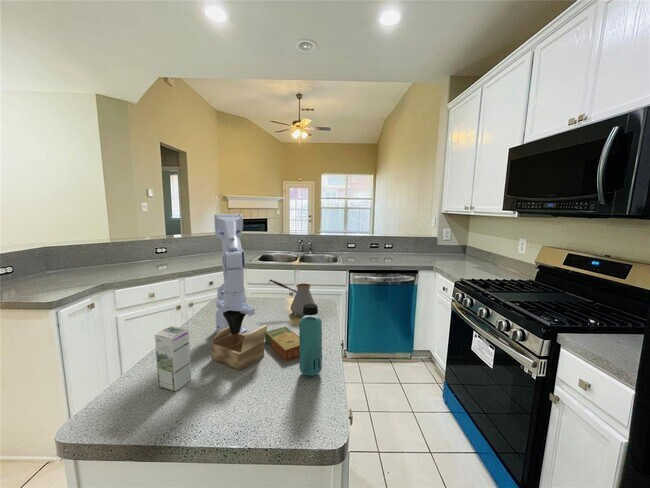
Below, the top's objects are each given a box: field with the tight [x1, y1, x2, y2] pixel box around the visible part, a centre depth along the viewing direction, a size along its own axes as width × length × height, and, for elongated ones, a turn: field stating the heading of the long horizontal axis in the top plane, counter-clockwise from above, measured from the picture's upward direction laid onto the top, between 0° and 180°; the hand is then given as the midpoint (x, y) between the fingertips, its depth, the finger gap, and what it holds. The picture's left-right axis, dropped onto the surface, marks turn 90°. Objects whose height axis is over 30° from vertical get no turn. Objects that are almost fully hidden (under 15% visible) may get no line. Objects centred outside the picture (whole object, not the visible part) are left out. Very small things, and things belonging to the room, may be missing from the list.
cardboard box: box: [210, 333, 265, 372], centre depth 88 cm, size 12×10×5 cm
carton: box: [264, 326, 300, 363], centre depth 95 cm, size 8×16×4 cm, turn 34°
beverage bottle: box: [298, 303, 323, 377], centre depth 79 cm, size 6×7×20 cm
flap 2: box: [241, 324, 268, 353], centre depth 84 cm, size 6×9×1 cm
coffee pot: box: [267, 279, 316, 318], centre depth 126 cm, size 21×12×15 cm, turn 84°
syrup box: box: [154, 325, 192, 392], centre depth 74 cm, size 6×6×14 cm
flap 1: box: [211, 320, 244, 344], centre depth 90 cm, size 6×9×1 cm
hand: (235, 333), depth 88 cm, fingers closed
